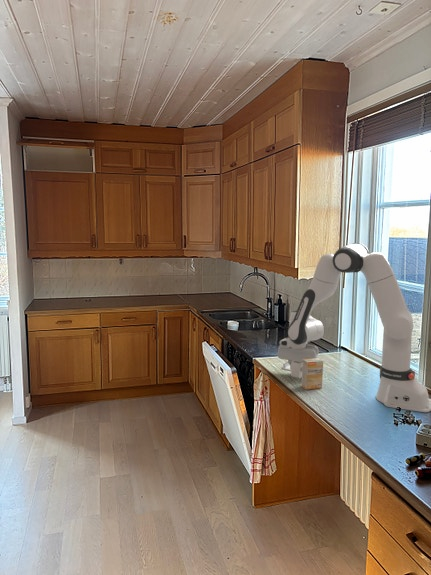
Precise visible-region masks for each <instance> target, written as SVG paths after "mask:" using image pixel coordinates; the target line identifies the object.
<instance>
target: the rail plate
mask: <svg viewBox="0 0 431 575" xmlns="http://www.w3.org/2000/svg"><path fill="white" fill-rule="evenodd" d="M282 365H283V367H282V370H286V371H290V372H291V369H290V365H289V363H288V361H286V362H284V363H283V364H282Z"/></svg>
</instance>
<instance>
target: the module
mask: <svg viewBox="0 0 431 575" xmlns="http://www.w3.org/2000/svg"><path fill="white" fill-rule="evenodd" d="M301 367H302V363H301V362H295V361H292V362H291V371H290V376H291V377H292V378H296V379H297V378H298V379H299V378H302V371H301Z"/></svg>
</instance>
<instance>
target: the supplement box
mask: <svg viewBox="0 0 431 575" xmlns="http://www.w3.org/2000/svg"><path fill="white" fill-rule="evenodd" d="M323 372H324V360H323V359H321V358H312V359H303V361H302V376H301V387H302V388H303V389H304V388H305V389H304V390H315V389H323V376H324V375H323V374H324V373H323Z"/></svg>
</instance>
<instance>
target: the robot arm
mask: <svg viewBox="0 0 431 575" xmlns="http://www.w3.org/2000/svg"><path fill="white" fill-rule="evenodd" d="M360 272H361V273H362V274H363V276H364V277H365V281H366V283H367V286H368V288H369V290H370V292H371V295H372V298H373V300H374V303H375V307H376V309H377V313H378V316H379V318H380V320H381V323H382V326H383V337H382V338H383V339H382V348H381V349H382V352H381V354H382V355H381V364H380V367H379V368H380V369H379V384H378V388H377V392H376V393H375V394H376V395H375V399H376V400H377V401H379V402H380V403H382V404H383V405H384V406H385V407H387V408H394V409H398V408H397V407H400V408H401V409H400V410H406V411H413V412H419V413H430V412H431V398H429V392H428V389H427V388H426V387H425V386H424V385H423V384H422V383H421V382H419V381H418V380H417V378H415V375H416V370H415V369H414V370H413V369H412V368H411V359H412V358H411V357H412V356H411V355H412V338H413V337H412V336H413V335H412V334H413V330H414V320H413V314H412V313H411V312H410V310H409V309H408V305H407V303H406V300H405V297H404V295H403V292H402V289H401V287H400V285H399V283H398V280H397V276H396V274H395V272H394V270H393V267H392V265H391V264H390V263H389V261H388V259H387V257H386V256H385V254H384V253H382V252H371V253H370V251H369V249H368V247H367V246H366V245H365V244H363V243H359V242H354V243H351V244H347V245H344V246H342V247H340V248H338V249H337V250H336V251H335V252H334V253H326V254H323V255H322V256H321V257H320V258H319V261H318V262H317V265H316V267H315V270H314V274H313V277H312V280H311V282H310V284H309V286H308V288H307V289H306V291H305V292H304V293H303V295H302V297H301V299H300V301H299V303H298V307H297V309H296V310H293V311H291V313H290V316H289V326H288V328H287V336H288V337H285V338H283V339H281V340H280V341H279V345H278V348H277V357H278V359H280V360H284V361H285V360H286V361H287V362H288V363H289V365H290V369H291V362H293V361H295V362H301V363H302V361H303V359H312V358H319V353H320V352H319V351H320V350H319V347H318V346H316V345H315V344H308V343H309V342H313V341H317V340H320V339H322V338H323V337H324V335H325V330H326V329H325V325H324V323H323V322H322V321H321V320H320V319H317V318H315V317H313V316H312V315H311V314H312V311H313V310H314V308H315V307H316V306H317V305H318V304H320V303H321V302H323V301H325V300H327V299H329V298H331V297H332V296H333V295H334V294H335V292H336V290H337V288H338V284H339V282H340V277H341V276H342V273H345V274H348V273H349V274H350V273H360ZM301 371H302V367H301Z"/></svg>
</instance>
